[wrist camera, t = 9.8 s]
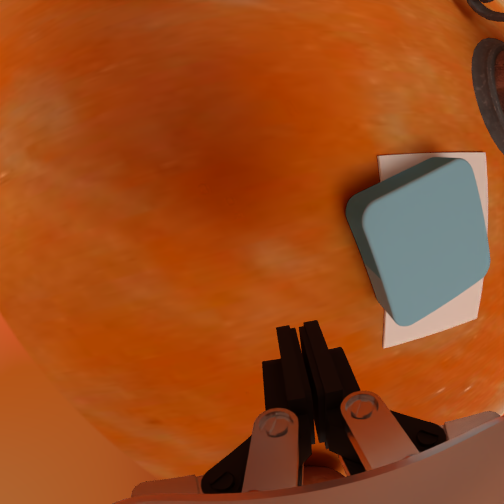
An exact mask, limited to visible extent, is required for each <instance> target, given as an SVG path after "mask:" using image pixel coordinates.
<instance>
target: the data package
mask: <svg viewBox="0 0 504 504" xmlns="http://www.w3.org/2000/svg"><path fill="white" fill-rule="evenodd" d="M346 218H347V221H348V223H349V225H350V228H351V230H352V233H353V235H354V238H355V240H356V243H357V245H358V248H359V251H360V253H361V256H362V258H363V261H364V264H365V267H366V269H367V272H368V275H369V278H370V280H371V283H372V286H373V289H374V292H375V295H376V298H377V300H378V302H379V303H380V304H381V306H382V307H383V308H384V309H385V311H386V312H387V313H388V314H389V315H390V317H391V318H392V319H393V320H394V322H395V323H396V324H398V325H399V326H410V325H412V324H414V323H416V322H417V321H419V320H421V319H422V318H424V317H426V316H427V315H429V314H430V313H432V312H434V311H435V310H437V309H438V308H440V307H442V306H443V305H445V304H446V303H448V302H449V301H451V300H452V299H454V298H455V297H457V296H458V295H460V294H461V293H463V292H464V291H465V290H467V289H468V288H470V287H471V286H473V285H474V284H475V283H477V282H478V281H479V280H481V279H482V278H483V277H484V276H485V275H486V273H487V271H488V269H489V266H490V253H489V245H488V238H487V232H486V226H485V220H484V215H483V210H482V205H481V200H480V196H479V191H478V187H477V183H476V179H475V176H474V172H473V169H472V167H471V165H470V164H469V163H468V162H467V161H466V160H465V159H462V158H449V157H431V158H429V159H427V160H425V161H423V162H421V163H419V164H417V165H415V166H413V167H410V168H408V169H406V170H404V171H402V172H400V173H398V174H396V175H394V176H392V177H390V178H388V179H386V180H384V181H382V182H380V183H378V184H375V185H373V186H371V187H369V188H367V189H365V190H363V191H361V192H359V193H357V194H355V195H354V196H352V197H351V198H350V200H349V201H348V203H347V206H346Z"/></svg>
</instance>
